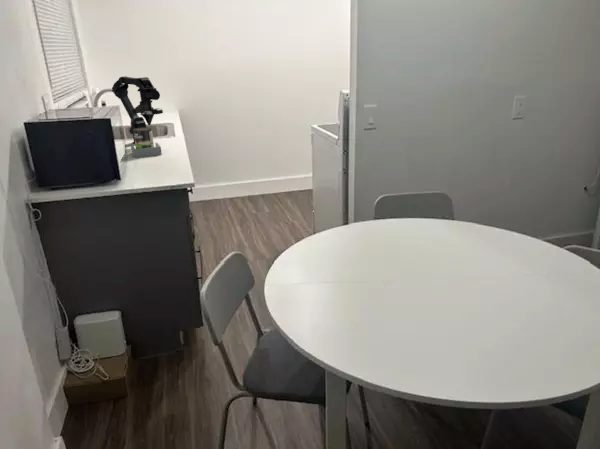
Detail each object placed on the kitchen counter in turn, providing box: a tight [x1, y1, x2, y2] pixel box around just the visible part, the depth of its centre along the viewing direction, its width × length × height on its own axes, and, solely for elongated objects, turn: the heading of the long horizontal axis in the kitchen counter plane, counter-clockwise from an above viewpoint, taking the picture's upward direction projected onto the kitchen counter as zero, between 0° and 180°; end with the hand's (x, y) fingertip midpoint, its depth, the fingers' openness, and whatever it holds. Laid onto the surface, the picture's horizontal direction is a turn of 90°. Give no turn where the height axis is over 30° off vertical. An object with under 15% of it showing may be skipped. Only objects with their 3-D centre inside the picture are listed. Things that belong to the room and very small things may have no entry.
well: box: [130, 142, 163, 158], centre depth 267 cm, size 13×15×4 cm
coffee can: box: [133, 126, 155, 149], centre depth 266 cm, size 10×10×14 cm
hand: (149, 125), depth 288 cm, fingers closed
